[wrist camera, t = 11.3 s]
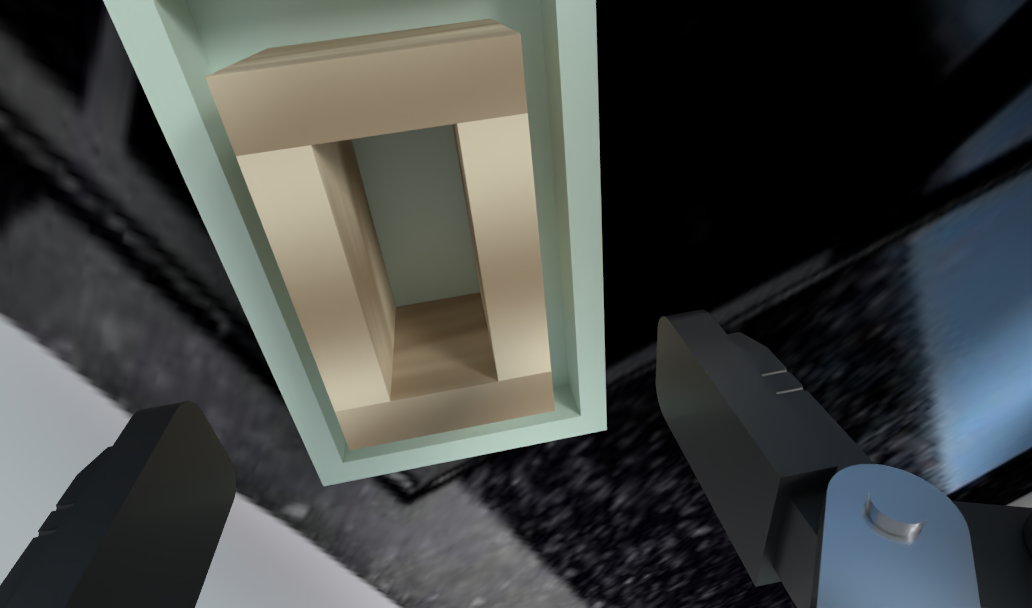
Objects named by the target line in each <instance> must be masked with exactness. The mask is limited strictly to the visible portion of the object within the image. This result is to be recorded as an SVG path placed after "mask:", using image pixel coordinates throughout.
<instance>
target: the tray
mask: <svg viewBox="0 0 1032 608" xmlns="http://www.w3.org/2000/svg"><path fill="white" fill-rule="evenodd" d="M103 1H104V3H105V6H106V8H107V10H108V12H109V14H110V17H111V19H112V21H113V23H114V26H115V28H116V30H117V32H118V34H119V37H120V39H121V41H122V43H123V45H124V48H125V50H126V52H127V54H128V56H129V59H130V61H131V63H132V65H133V67H134V70H135V72H136V74H137V76H138V78H139V81H140V83H141V85H142V87H143V90H144V92H145V94H146V96H147V98H148V101H149V103H150V105H151V107H152V109H153V112H154V114H155V116H156V118H157V120H158V123H159V125H160V127H161V129H162V131H163V134H164V136H165V138H166V140H167V142H168V145H169V147H170V149H171V151H172V154H173V156H174V158H175V160H176V162H177V165H178V167H179V169H180V171H181V173H182V176H183V178H184V180H185V182H186V184H187V187H188V189H189V191H190V193H191V195H192V198H193V200H194V202H195V204H196V206H197V209H198V211H199V213H200V215H201V218H202V220H203V222H204V224H205V226H206V229H207V231H208V233H209V235H210V237H211V240H212V242H213V244H214V246H215V248H216V251H217V253H218V255H219V257H220V259H221V262H222V264H223V266H224V268H225V270H226V273H227V275H228V277H229V279H230V282H231V284H232V286H233V288H234V290H235V293H236V295H237V297H238V299H239V301H240V304H241V306H242V308H243V310H244V312H245V315H246V317H247V319H248V321H249V323H250V326H251V328H252V330H253V332H254V334H255V337H256V339H257V341H258V343H259V346H260V348H261V350H262V352H263V354H264V357H265V359H266V361H267V363H268V365H269V368H270V370H271V372H272V374H273V376H274V379H275V381H276V383H277V385H278V387H279V390H280V392H281V394H282V396H283V398H284V401H285V403H286V405H287V407H288V410H289V412H290V414H291V416H292V418H293V421H294V423H295V425H296V427H297V429H298V432H299V434H300V436H301V438H302V440H303V443H304V445H305V447H306V449H307V451H308V454H309V456H310V458H311V460H312V462H313V465H314V467H315V469H316V471H317V474H318V476H319V478H320V480H321V482H322V485H323V486H328V485H333V484H338V483H343V482H348V481H353V480H358V479H363V478H368V477H373V476H378V475H383V474H388V473H393V472H398V471H403V470H408V469H413V468H418V467H423V466H428V465H433V464H439V463H444V462H449V461H454V460H459V459H464V458H469V457H474V456H479V455H484V454H489V453H494V452H499V451H504V450H509V449H514V448H519V447H524V446H529V445H534V444H539V443H544V442H549V441H554V440H559V439H564V438H569V437H574V436H579V435H584V434H589V433H594V432H599V431H604V430H607V416H606V377H605V339H604V300H603V261H602V222H601V183H600V144H599V105H598V66H597V27H596V0H103ZM483 19H492V20H494V21H496V22H498V23H500V24H502V25H504V26H506V27H508V28H510V29H512V30H514V31H516V32H518V33H520V34H521V44H522V55H523V66H524V77H525V88H526V99H527V110H528V121H529V132H530V143H531V154H532V165H533V176H534V187H535V198H536V209H537V220H538V231H539V241H540V252H541V263H542V274H543V285H544V296H545V307H546V318H547V329H548V340H549V351H550V362H551V373H552V384H553V395H554V406H555V411H552V412H546V413H541V414H536V415H531V416H526V417H520V418H515V419H510V420H505V421H500V422H495V423H489V424H484V425H479V426H474V427H469V428H463V429H458V430H453V431H448V432H443V433H438V434H432V435H427V436H422V437H417V438H412V439H406V440H401V441H396V442H391V443H386V444H381V445H375V446H370V447H365V448H360V449H355V450H349V447H348V444H347V442H346V439H345V437H344V434H343V432H342V429H341V426H340V424H339V421H338V419H337V416H336V414H335V411H334V408H333V406H332V403H331V401H330V398H329V395H328V393H327V390H326V388H325V385H324V383H323V380H322V377H321V375H320V372H319V370H318V367H317V365H316V362H315V359H314V357H313V354H312V352H311V349H310V347H309V344H308V341H307V339H306V336H305V334H304V331H303V328H302V326H301V323H300V321H299V318H298V316H297V313H296V310H295V308H294V305H293V303H292V300H291V298H290V295H289V292H288V290H287V287H286V285H285V282H284V279H283V277H282V274H281V272H280V269H279V267H278V264H277V261H276V259H275V256H274V254H273V251H272V249H271V246H270V243H269V241H268V238H267V236H266V233H265V231H264V228H263V225H262V223H261V220H260V218H259V215H258V212H257V210H256V207H255V205H254V202H253V200H252V197H251V194H250V192H249V189H248V187H247V184H246V182H245V179H244V176H243V174H242V171H241V169H240V166H239V163H238V161H237V158H236V156H235V153H234V151H233V148H232V145H231V143H230V140H229V138H228V135H227V133H226V130H225V127H224V125H223V122H222V120H221V117H220V115H219V112H218V109H217V107H216V104H215V102H214V99H213V96H212V94H211V91H210V89H209V86H208V84H207V81H206V78H205V76H208V75H210V74H212V73H214V72H216V71H219V70H221V69H223V68H225V67H227V66H230V65H232V64H234V63H236V62H238V61H241V60H243V59H245V58H247V57H249V56H252V55H254V54H256V53H258V52H260V51H263V50H265V49H267V48H272V47H280V46H287V45H295V44H302V43H310V42H318V41H325V40H333V39H340V38H348V37H355V36H363V35H370V34H378V33H385V32H393V31H400V30H408V29H416V28H423V27H431V26H438V25H446V24H453V23H461V22H468V21H476V20H483ZM351 140H352V144H353V147H354V151H355V155H356V159H357V162H358V166H359V170H360V174H361V177H362V181H363V185H364V189H365V192H366V196H367V200H368V204H369V207H370V211H371V215H372V219H373V222H374V226H375V230H376V233H377V237H378V241H379V245H380V248H381V252H382V256H383V260H384V263H385V267H386V271H387V275H388V278H389V282H390V286H391V290H392V293H393V297H394V301H395V304H396V307H398V306H404V305H410V304H416V303H422V302H427V301H433V300H439V299H445V298H450V297H456V296H462V295H468V294H474V293H479V292H480V288H479V281H478V275H477V269H476V263H475V257H474V251H473V245H472V239H471V233H470V227H469V221H468V215H467V209H466V203H465V197H464V191H463V185H462V179H461V173H460V167H459V160H458V154H457V148H456V142H455V136H454V130H453V124H451V125H444V126H437V127H431V128H424V129H417V130H410V131H403V132H397V133H390V134H383V135H376V136H370V137H363V138H356V139H351Z"/></svg>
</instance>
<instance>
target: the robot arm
mask: <svg viewBox="0 0 1032 608" xmlns="http://www.w3.org/2000/svg"><path fill="white" fill-rule="evenodd" d="M656 391H657V397H658V402H659V405H660V408H661V411H662V414H663V416H664V418H665V420H666V422H667V424H668V426H669V427H670V429H671V431H672V433H673V435H674V437H675V439H676V440H677V442H678V444H679V446H680V448H681V450H682V451H683V453H684V455H685V457H686V459H687V461H688V463H689V464H690V466H691V468H692V470H693V472H694V474H695V475H696V477H697V479H698V481H699V483H700V485H701V486H702V488H703V490H704V492H705V494H706V496H707V498H708V499H709V501H710V503H711V505H712V507H713V509H714V510H715V512H716V514H717V516H718V518H719V520H720V522H721V523H722V525H723V527H724V529H725V531H726V533H727V534H728V536H729V538H730V540H731V542H732V544H733V546H734V547H735V549H736V551H737V553H738V555H739V557H740V558H741V560H742V562H743V564H744V566H745V568H746V570H747V571H748V573H749V575H750V577H751V579H752V581H753V582H754V584H755V586H760V585H765V584H770V583H774V582H779V581H782V583H783V585H784V587H785V588H786V590H787V592H788V593H789V595H790V597H791V598H792V600H793V603H792V607H791V608H1032V508H1026V507H1014V506H1003V505H991V504H979V503H968V502H959V501H951V500H950V499H949V498H948V497H947V496H946V495H944V494H943V493H942V492H941V491H940V490H939V489H937V488H936V487H934V486H933V485H931V484H930V483H928V482H926V481H925V480H923V479H921V478H919V477H917V476H915V475H913V474H910V473H908V472H906V471H903V470H900V469H897V468H893V467H889V466H884V465H876V464H875V463H874V462H873V461H872V460H871V459H870V458H869V457H868V456H867V455H866V454H865V453H864V452H863V451H862V450H861V449H860V448H859V446H858V445H857V444H856V443H855V442H854V441H853V440H852V439H851V438H850V437H849V436H848V434H847V433H846V432H845V431H844V430H843V429H842V428H841V427H840V426H839V425H838V424H837V423H836V421H835V420H834V419H833V418H832V417H831V416H830V415H829V414H828V413H827V412H826V411H825V410H824V408H823V407H822V406H821V405H820V404H819V403H818V402H817V401H816V400H815V399H814V398H813V396H812V395H811V394H810V393H809V392H808V391H804V390H803V386H802V385H801V383H800V382H799V381H798V380H797V379H796V378H795V377H794V376H793V375H792V374H791V373H788V372H787V368H786V367H785V366H784V365H783V364H782V363H781V362H780V361H779V360H778V358H777V357H776V356H775V355H774V354H773V353H772V352H771V351H770V350H769V349H768V348H767V347H766V346H764V345H762V344H760V343H758V342H757V341H755V340H753V339H751V338H749V337H748V336H746V335H744V334H742V333H741V332H737V333H732V334H726V332H725V331H724V330H723V329H722V328H721V327H720V325H719V324H718V323H717V322H716V321H715V319H714V318H713V317H712V316H711V315H710V314H709V313H708V312H707V311H706V310H697V311H691V312H686V313H680V314H675V315H669V316H664V317H661V318H660V320H659V323H658V334H657V362H656ZM235 492H236V475H235V470H234V466H233V464H232V462H231V460H230V458H229V456H228V455H227V453H226V451H225V449H224V448H223V446H222V444H221V443H220V441H219V439H218V438H217V436H216V434H215V432H214V431H213V429H212V427H211V426H210V424H209V422H208V421H207V419H206V417H205V415H204V414H203V412H202V410H201V409H200V407H199V406H198V405H197V404H195V403H193V402H191V401H186V402H181V403H175V404H170V405H164V406H159V407H153V408H148V409H142V410H139V411H138V412H136V413H135V414H134V415H133V416H132V418H131V419H130V420H129V422H128V424H127V425H126V427H125V428H124V430H123V431H122V433H121V434H120V436H119V437H118V439H117V440H116V442H115V443H114V445H113V446H111V447H108V448H107V449H105V450H104V451H103V452H102V453H101V454H100V455H99V456H98V457H96V458H95V459H94V460H93V461H92V462H91V463H90V464H89V465H88V466H87V467H85V468H84V469H83V470H82V471H81V472H80V473H79V474H78V475H77V476H76V477H75V479H74V480H73V481H72V483H71V484H70V486H69V487H68V489H67V490H66V492H65V493H64V494H63V496H62V497H61V499H60V500H59V502H58V503H57V505H56V506H57V509H56V511H52V512H51V513H50V515H49V516H48V518H47V519H46V520H45V522H44V523H43V525H42V526H41V528H40V529H39V531H38V532H39V536H38V537H36V538H33V539H32V541H31V542H30V544H29V545H28V547H27V548H26V549H25V551H24V552H23V554H22V555H21V556H20V558H19V559H18V561H17V562H16V564H15V565H14V567H13V568H12V569H11V571H10V572H9V574H8V575H7V577H6V578H5V580H4V581H3V583H2V584H1V585H0V608H195V605H196V603H197V600H198V597H199V595H200V592H201V589H202V586H203V584H204V581H205V578H206V575H207V573H208V570H209V567H210V564H211V561H212V559H213V556H214V553H215V550H216V548H217V545H218V542H219V539H220V537H221V534H222V531H223V528H224V525H225V523H226V520H227V517H228V515H229V512H230V509H231V506H232V503H233V500H234V497H235Z"/></svg>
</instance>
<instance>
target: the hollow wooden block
mask: <svg viewBox="0 0 1032 608" xmlns="http://www.w3.org/2000/svg"><path fill="white" fill-rule="evenodd" d="M205 78H206V81H207V84H208V86H209V89H210V91H211V94H212V96H213V99H214V102H215V104H216V107H217V109H218V112H219V115H220V117H221V120H222V122H223V125H224V127H225V130H226V133H227V135H228V138H229V140H230V143H231V145H232V148H233V151H234V153H235V156H236V158H237V161H238V163H239V166H240V169H241V171H242V174H243V176H244V179H245V182H246V184H247V187H248V189H249V192H250V194H251V197H252V200H253V202H254V205H255V207H256V210H257V212H258V215H259V218H260V220H261V223H262V225H263V228H264V231H265V233H266V236H267V238H268V241H269V243H270V246H271V249H272V251H273V254H274V256H275V259H276V261H277V264H278V267H279V269H280V272H281V274H282V277H283V279H284V282H285V285H286V287H287V290H288V292H289V295H290V298H291V300H292V303H293V305H294V308H295V310H296V313H297V316H298V318H299V321H300V323H301V326H302V328H303V331H304V334H305V336H306V339H307V341H308V344H309V347H310V349H311V352H312V354H313V357H314V359H315V362H316V365H317V367H318V370H319V372H320V375H321V377H322V380H323V383H324V385H325V388H326V390H327V393H328V395H329V398H330V401H331V403H332V406H333V408H334V411H335V414H336V416H337V419H338V421H339V424H340V426H341V429H342V432H343V434H344V437H345V439H346V442H347V444H348V447H349V450H355V449H360V448H365V447H370V446H375V445H381V444H386V443H391V442H396V441H401V440H406V439H412V438H417V437H422V436H427V435H432V434H438V433H443V432H448V431H453V430H458V429H463V428H469V427H474V426H479V425H484V424H489V423H495V422H500V421H505V420H510V419H515V418H520V417H526V416H531V415H536V414H541V413H546V412H552V411H555V406H554V395H553V384H552V373H551V362H550V351H549V340H548V329H547V318H546V307H545V296H544V285H543V274H542V263H541V252H540V241H539V231H538V220H537V209H536V198H535V187H534V176H533V165H532V154H531V143H530V132H529V121H528V110H527V99H526V88H525V77H524V66H523V55H522V44H521V34H520V33H518V32H516V31H514V30H512V29H510V28H508V27H506V26H504V25H502V24H500V23H498V22H496V21H494V20H492V19H483V20H476V21H468V22H461V23H453V24H446V25H438V26H431V27H423V28H416V29H408V30H400V31H393V32H385V33H378V34H370V35H363V36H355V37H348V38H340V39H333V40H325V41H318V42H310V43H302V44H295V45H287V46H280V47H272V48H267V49H265V50H263V51H260V52H258V53H256V54H254V55H252V56H249V57H247V58H245V59H243V60H241V61H238V62H236V63H234V64H232V65H230V66H227V67H225V68H223V69H221V70H219V71H216V72H214V73H212V74H210V75H208V76H205ZM451 124H453V130H454V136H455V142H456V148H457V154H458V160H459V167H460V173H461V179H462V185H463V191H464V197H465V203H466V209H467V215H468V221H469V227H470V233H471V239H472V245H473V251H474V257H475V263H476V269H477V275H478V281H479V288H480V292H479V293H474V294H468V295H462V296H456V297H450V298H445V299H439V300H433V301H427V302H422V303H416V304H410V305H404V306H398V307H396V304H395V301H394V297H393V293H392V290H391V286H390V282H389V278H388V275H387V271H386V267H385V263H384V260H383V256H382V252H381V248H380V245H379V241H378V237H377V233H376V230H375V226H374V222H373V219H372V215H371V211H370V207H369V204H368V200H367V196H366V192H365V189H364V185H363V181H362V177H361V174H360V170H359V166H358V162H357V159H356V155H355V151H354V147H353V144H352V140H351V139H356V138H363V137H370V136H376V135H383V134H390V133H397V132H403V131H410V130H417V129H424V128H431V127H437V126H444V125H451Z"/></svg>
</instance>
